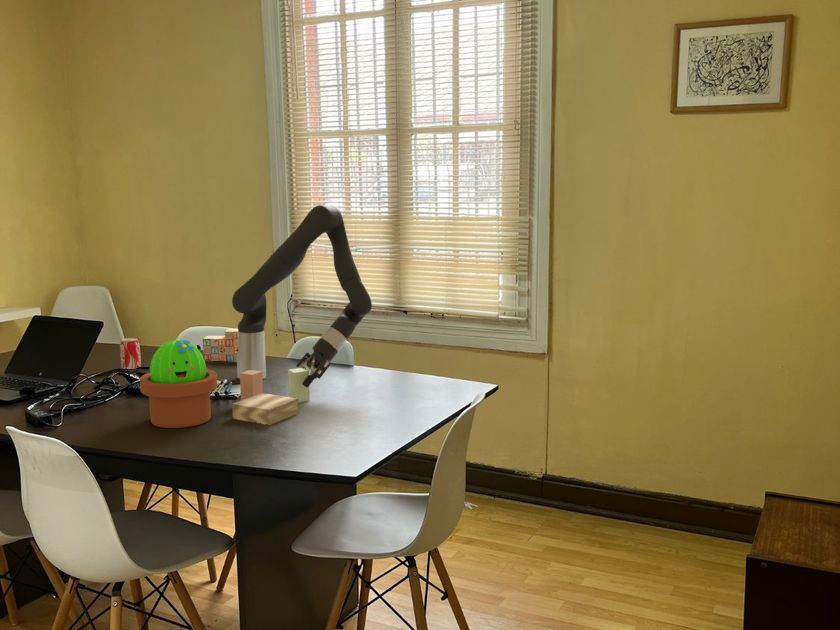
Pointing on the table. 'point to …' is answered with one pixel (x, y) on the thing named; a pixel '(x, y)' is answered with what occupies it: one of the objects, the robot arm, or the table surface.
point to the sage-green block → (298, 384)
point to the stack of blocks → (221, 347)
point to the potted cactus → (178, 386)
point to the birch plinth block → (265, 408)
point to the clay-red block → (251, 383)
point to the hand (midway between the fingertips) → (298, 383)
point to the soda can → (130, 353)
